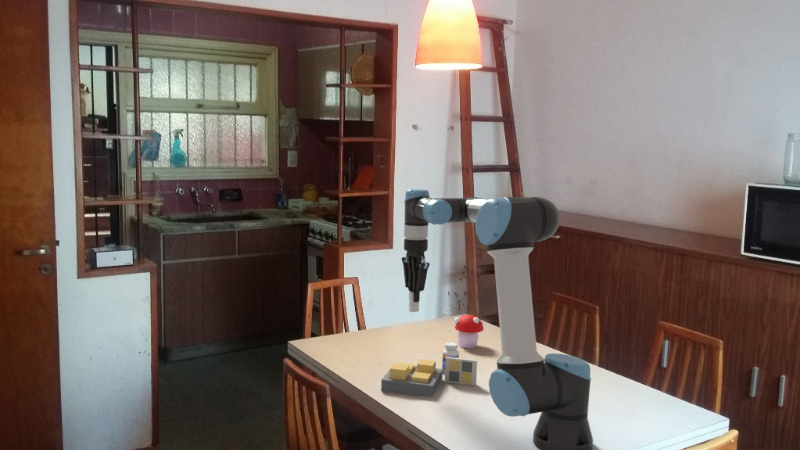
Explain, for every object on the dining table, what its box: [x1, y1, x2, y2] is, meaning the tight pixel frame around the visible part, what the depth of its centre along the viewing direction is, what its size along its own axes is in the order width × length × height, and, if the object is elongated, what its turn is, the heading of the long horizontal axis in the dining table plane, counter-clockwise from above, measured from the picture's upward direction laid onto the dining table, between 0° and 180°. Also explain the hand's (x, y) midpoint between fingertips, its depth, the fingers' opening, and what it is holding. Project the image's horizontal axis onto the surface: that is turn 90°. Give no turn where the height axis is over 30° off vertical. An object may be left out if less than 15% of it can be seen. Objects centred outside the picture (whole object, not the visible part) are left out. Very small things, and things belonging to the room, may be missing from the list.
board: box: [380, 365, 444, 398], centre depth 226 cm, size 16×16×4 cm
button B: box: [389, 363, 409, 381], centre depth 223 cm, size 5×5×4 cm
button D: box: [398, 362, 415, 373], centre depth 230 cm, size 5×5×4 cm
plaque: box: [444, 357, 478, 386], centre depth 229 cm, size 1×10×8 cm, turn 76°
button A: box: [412, 372, 431, 383], centre depth 221 cm, size 5×5×4 cm
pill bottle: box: [441, 342, 460, 375], centre depth 239 cm, size 5×5×10 cm
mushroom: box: [453, 314, 485, 349], centre depth 269 cm, size 11×11×12 cm
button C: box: [416, 358, 437, 376], centre depth 228 cm, size 5×5×4 cm
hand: (413, 311), depth 230 cm, fingers closed
